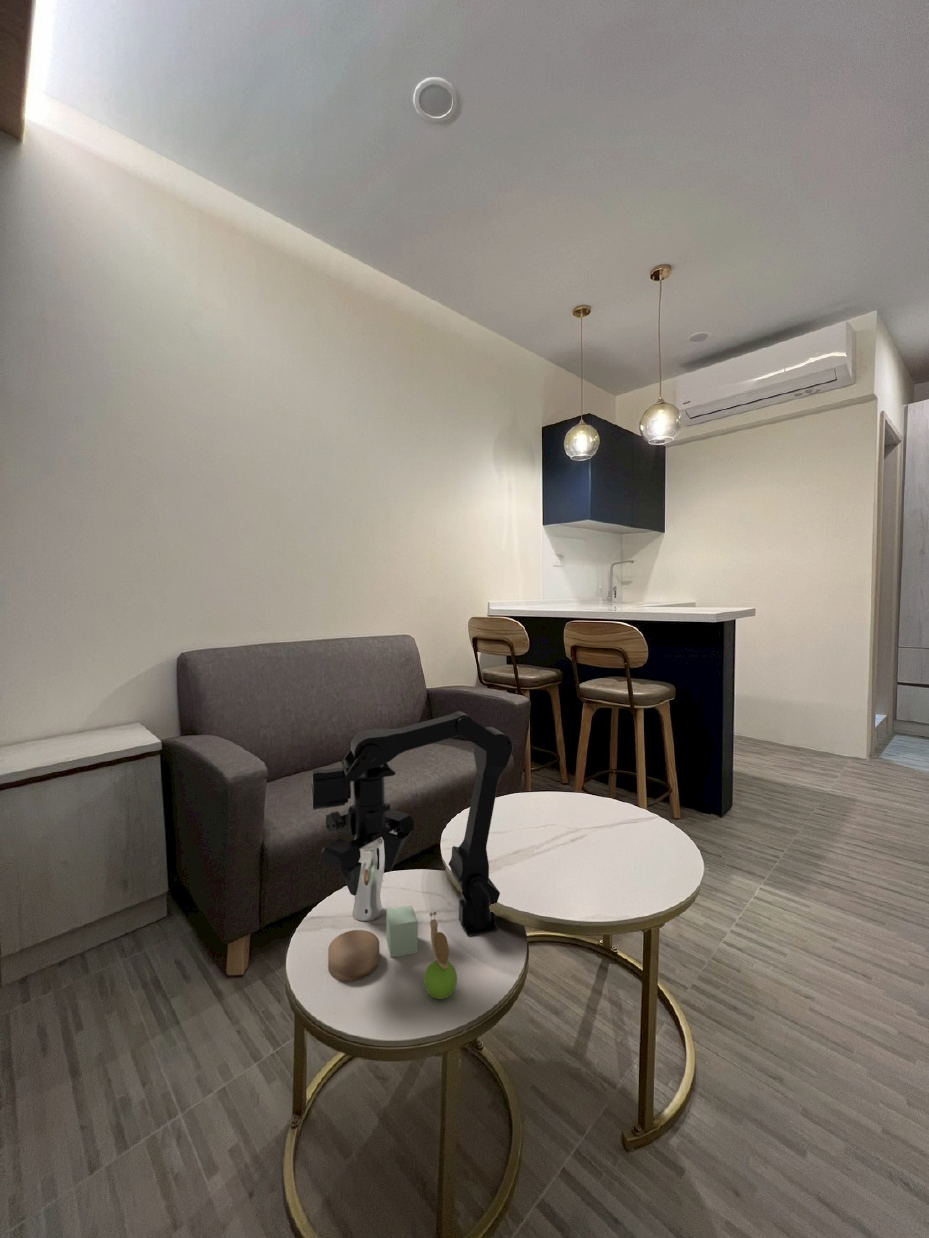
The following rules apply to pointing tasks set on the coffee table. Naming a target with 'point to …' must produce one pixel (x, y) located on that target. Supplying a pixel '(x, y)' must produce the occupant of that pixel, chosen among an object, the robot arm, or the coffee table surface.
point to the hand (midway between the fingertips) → (371, 882)
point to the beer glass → (370, 882)
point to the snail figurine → (440, 966)
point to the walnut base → (353, 955)
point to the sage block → (401, 931)
